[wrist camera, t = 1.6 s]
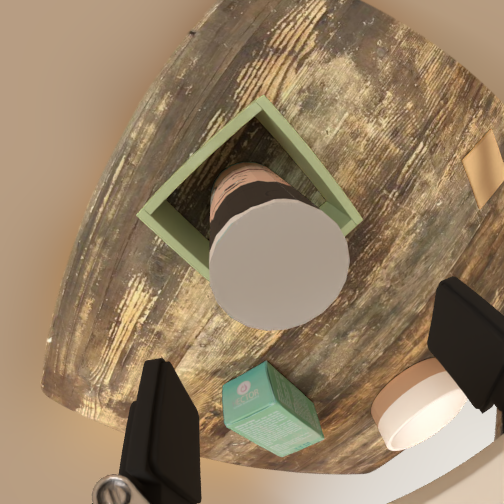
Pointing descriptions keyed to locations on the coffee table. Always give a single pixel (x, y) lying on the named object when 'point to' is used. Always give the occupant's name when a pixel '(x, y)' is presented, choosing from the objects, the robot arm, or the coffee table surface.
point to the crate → (161, 211)
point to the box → (270, 411)
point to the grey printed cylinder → (271, 250)
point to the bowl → (416, 404)
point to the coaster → (484, 168)
